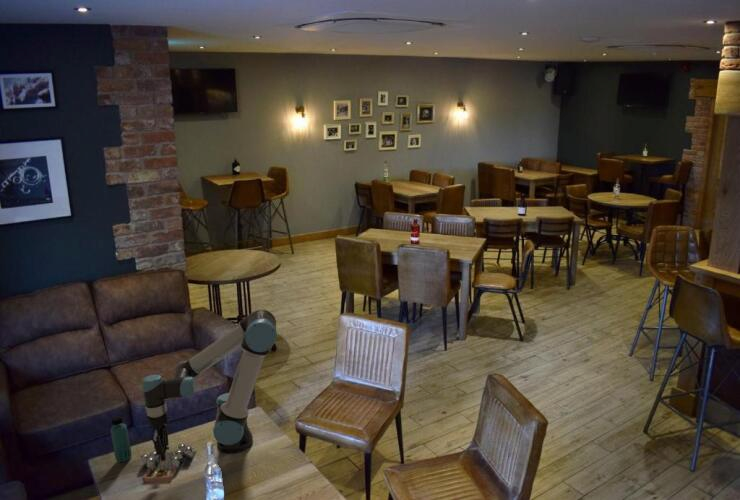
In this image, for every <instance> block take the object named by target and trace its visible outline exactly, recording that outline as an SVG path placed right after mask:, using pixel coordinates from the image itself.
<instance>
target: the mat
mask: <svg viewBox="0 0 740 500" xmlns="http://www.w3.org/2000/svg"><path fill="white" fill-rule="evenodd" d="M192 453H193V459H192V460H186V458H185V457H184V458H183V461H184V462H183V463H182V464H180V469H179V470H178V471H188V470H189V468H190V467H191V466H192V465H191V464H192V463H193V460H194V458H195V457H196V455H197V453H198V451H197V450H196V451H193V450H192ZM148 456H149V457H151V456H150V453H149V454H148ZM173 456H175V451H173V452H168V458H169V466H168V467H162V466H161V460H160V459H159V464H158V465H155V468H156V470H155V471H157V470H158V469H160V468H166V470H167V472H168V471H169V472H172V471H173V470H172V463H171V458H172V457H173ZM147 471H148V469H143V468H142V466H141V468H140V469H139V470H138V473H146V472H147ZM155 471H154V472H155Z"/></svg>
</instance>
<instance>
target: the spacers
mask: <svg viewBox="0 0 740 500" xmlns="http://www.w3.org/2000/svg"><path fill="white" fill-rule="evenodd" d="M192 447H193V446H192V445H186V443H180V444H178V445H177V449H176V450H175V451H174V452H175V456H173V457H172V458H171V463H172V470H173V469H174V468H175V467H176V472H177V471H180V470H179V469H180V464H182V463H183V462H184V461H183V458H184V457H185V458H186V460H192V459H193V453H192V451H193V448H192ZM149 454H150V456H151V457H149ZM149 454H148V453H143V454H141V455H140V463H141V467H142V468H143V469H150V471H151V473H154V472H155V470H156V468H155V465H158V464H159V459H160V455H157V453H156V449H155V446H154V445H153V450H152V451H151V452H150V453H149ZM193 460H194V459H193Z"/></svg>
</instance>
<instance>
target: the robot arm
mask: <svg viewBox="0 0 740 500" xmlns="http://www.w3.org/2000/svg"><path fill="white" fill-rule="evenodd" d="M277 334H278V333H277V320H276V317H275V315H274V314H273V313H271V311H269V310H266V309H258V310H255V311H252V312H251V313H250V314H247V316H245V317H244V318H243V319H241V320H240V321H239V322H238V325H237V326H235V327H234V328H233V329H231V330H230V331H228V332H226V333H225V334H224V335H223V336H221V337H219V338H218V339H216V341H214V342H212V343H211V344H210V345H209V346H206V347H205V348H204V349H203V350H201V351H200V352H198V353H196V354H195V355H194V356H193V357H191V358H189V359H188V360H184V361H181V362H180V363H179V364H178V365H177V367H176V368H175V372H174V374H173V378H171V379H163V378H162V376H161V375H160V374H150V375H147V376H145V377H144V378H143V379H142V380H141V385H142V392H143V394H142V395H143V399H144V405H145V406H144V409H145V411H146V416H147V417H146V418H147V423H148V425H149V426H150V427H151V428H152V432H153V435H154V436H151V441H152V443H153V447H154V446H155V449H156V453H157V455H160V460H161V466H162V467H168V466H169V458H168V453H169V452H168V450H169V449H170V447H169V432H168V431H169V430H168V422H169V416H168V407H167V402H166V400H171V399H179V398H187V397H192V396H194V395H196V387H197V385H196V380H195V378H197V377H198V376H199V375H201V374H202V373H203V372H205V371H206V370H208V369H210V368H211V367H212V366H213V365H215V364H217V363H218V362H219V361H221V360H222V359H224V358H225V357H227V356H228V355H230V354H231V353H232V352H234V351H235V350H237V349H238V348H240V347H241V349H242V354H241V357H240V359H239V363H238V365H237V368H236V371H235V375H234V377H233V380H232V383H231V387H230V389H229V392H225V393H223V394H221V395H219V396H218V397H217V398H216V403H215V404H216V409H217V411H216V417H215V421H214V426H213V429H212V430H213V431H212V432H213V437H214V440H216V445H217V448H218V449H219V452H221V453H225V454H237V453H242V452H243V451H246V450H247V449H249V448H250V447H251V446H252V445H253V443H254V437H253V434H252V431H251V430H250V428H249V426H248V420H247V419H248V417H249V415H250V413H249V409H248V405H249V402H250V399H251V397H252V393H253V391H254V388H255V384H256V383H257V379H258V376H259V373H260V371H261V367H262V364H263V362H264V358H265V357H267V356H269V354H270V352H271V350H272V347H273V346H274V344H275V342H276V341H277V337H278V336H277Z"/></svg>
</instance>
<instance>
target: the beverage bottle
mask: <svg viewBox="0 0 740 500" xmlns="http://www.w3.org/2000/svg"><path fill="white" fill-rule="evenodd" d="M123 422H124V420H123V417H122V416H121V415H118V416H115V417H113V418H112V419H111V424H112V426H111V428H110V433H111V439H112V440H111V441H112V446H113V452H114V453H113V454H114V459H115V461H116V462H118V463H121V462H122V463H123V462H127V461H129V460H131V458H132V450H131V443H130V439H129V438H130V437H129V432H128V426H127V424H125V423H123Z"/></svg>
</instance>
